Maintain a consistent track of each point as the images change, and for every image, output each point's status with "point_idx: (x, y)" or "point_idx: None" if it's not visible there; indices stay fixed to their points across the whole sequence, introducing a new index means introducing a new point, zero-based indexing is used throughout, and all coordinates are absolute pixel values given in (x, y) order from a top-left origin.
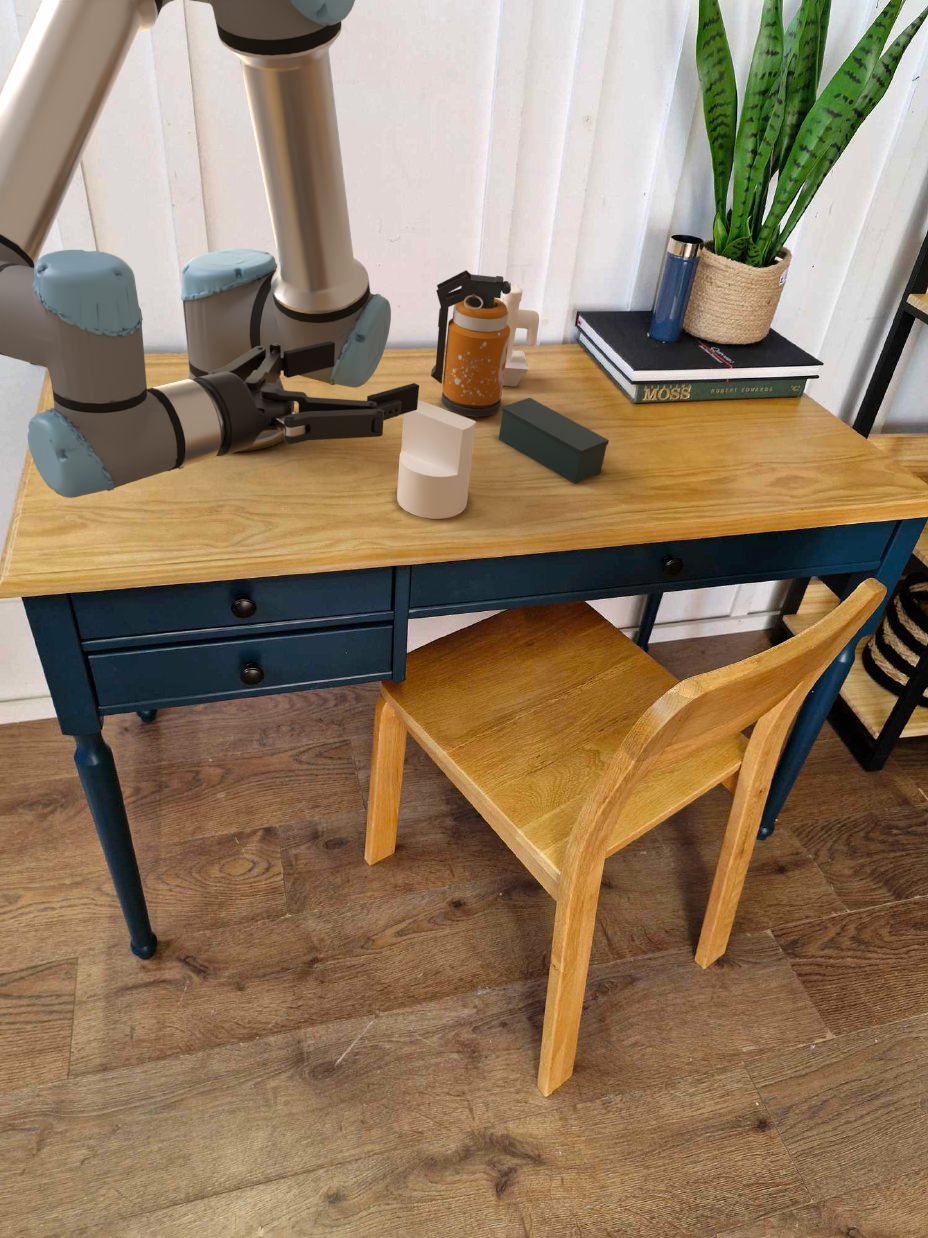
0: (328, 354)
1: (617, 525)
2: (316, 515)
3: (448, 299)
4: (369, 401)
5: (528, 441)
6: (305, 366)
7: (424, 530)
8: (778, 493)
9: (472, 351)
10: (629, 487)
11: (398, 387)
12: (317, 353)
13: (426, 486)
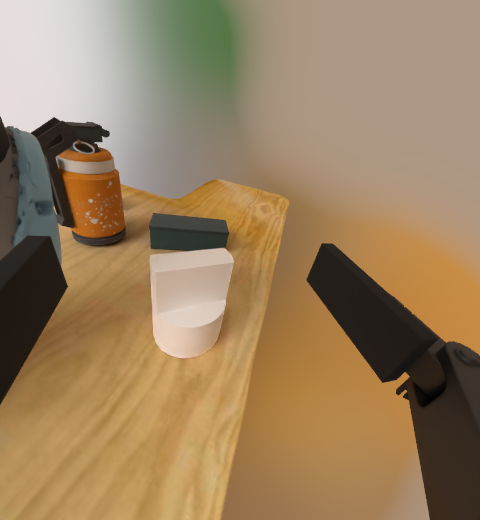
0: (49, 272)
1: (272, 264)
2: (122, 474)
3: (52, 149)
4: (467, 355)
5: (180, 241)
6: (10, 356)
7: (226, 363)
8: (271, 215)
9: (102, 192)
10: (241, 240)
11: (345, 267)
12: (24, 290)
13: (212, 329)
